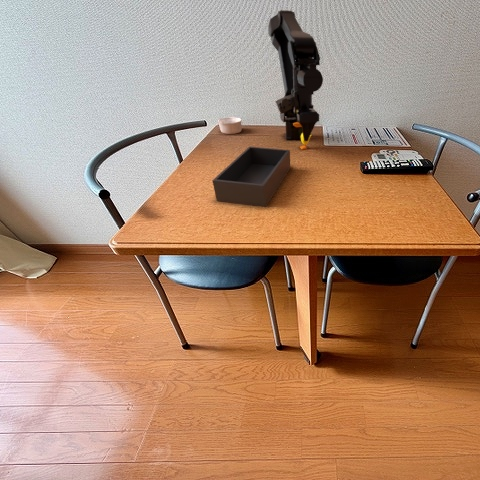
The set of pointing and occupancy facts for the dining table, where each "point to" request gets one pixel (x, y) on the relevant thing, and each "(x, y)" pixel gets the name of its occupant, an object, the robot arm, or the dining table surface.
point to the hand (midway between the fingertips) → (303, 137)
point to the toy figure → (301, 136)
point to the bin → (252, 176)
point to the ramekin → (230, 125)
